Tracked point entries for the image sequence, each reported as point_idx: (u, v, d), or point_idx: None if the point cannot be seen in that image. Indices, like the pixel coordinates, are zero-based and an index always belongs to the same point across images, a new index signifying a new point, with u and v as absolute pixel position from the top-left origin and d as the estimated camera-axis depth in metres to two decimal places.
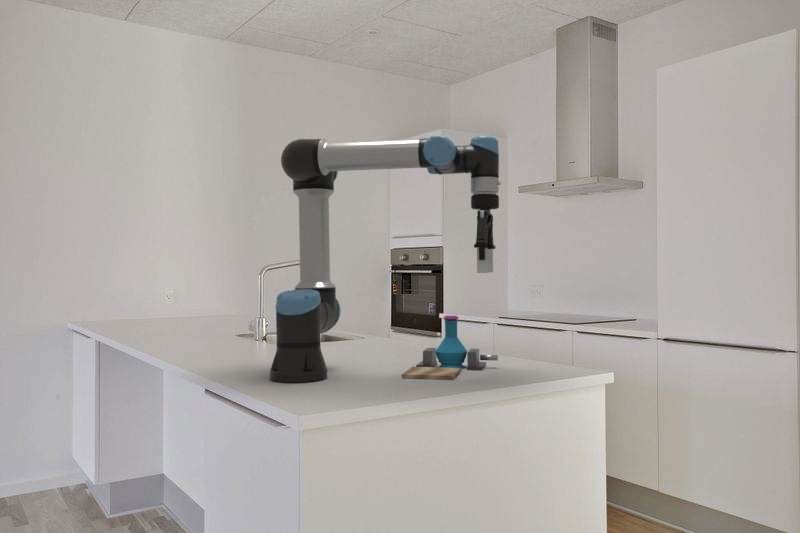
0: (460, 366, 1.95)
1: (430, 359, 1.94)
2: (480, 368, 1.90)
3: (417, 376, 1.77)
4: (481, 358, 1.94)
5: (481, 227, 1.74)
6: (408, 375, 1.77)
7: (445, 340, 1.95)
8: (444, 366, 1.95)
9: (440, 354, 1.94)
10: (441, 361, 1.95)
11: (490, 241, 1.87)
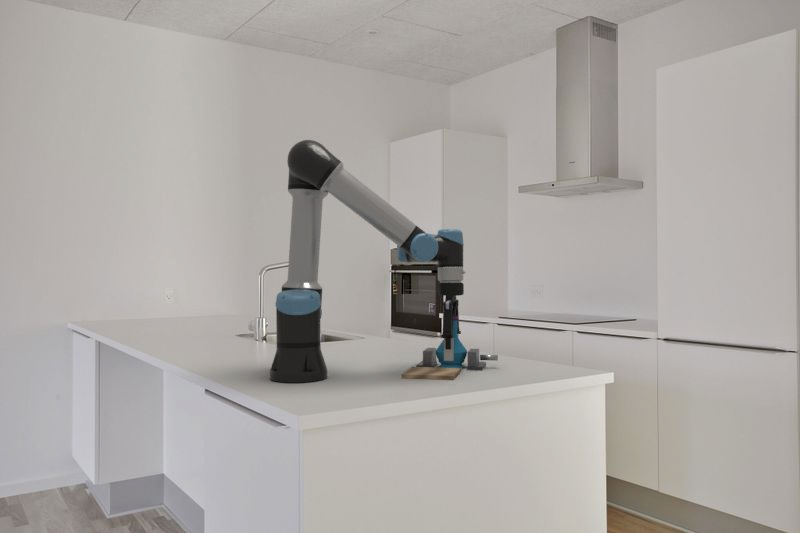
0: (460, 366, 1.95)
1: (430, 359, 1.94)
2: (480, 368, 1.90)
3: (417, 376, 1.77)
4: (481, 358, 1.94)
5: (447, 319, 1.90)
6: (408, 375, 1.77)
7: None
8: (444, 366, 1.95)
9: (440, 354, 1.94)
10: (441, 361, 1.95)
11: None
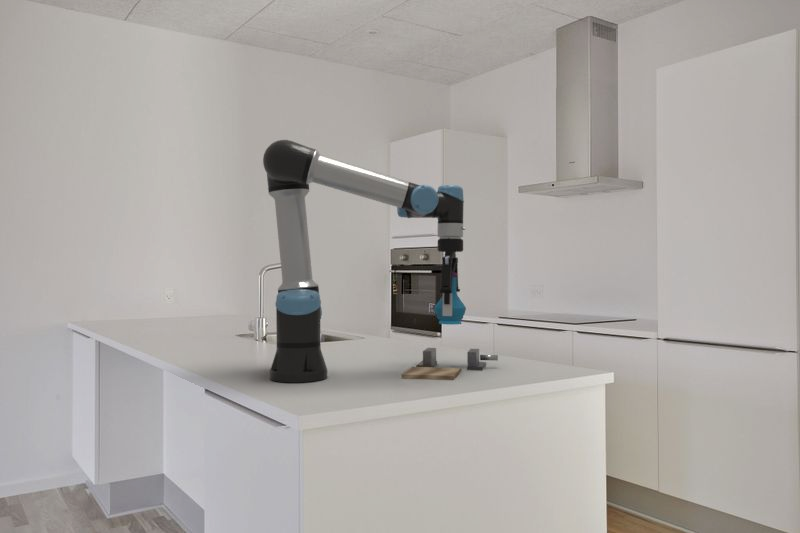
0: (459, 322, 1.95)
1: (430, 359, 1.94)
2: (480, 368, 1.90)
3: (417, 376, 1.77)
4: (481, 358, 1.94)
5: (446, 274, 1.90)
6: (408, 375, 1.77)
7: None
8: (443, 322, 1.94)
9: (439, 310, 1.94)
10: (440, 317, 1.94)
11: None
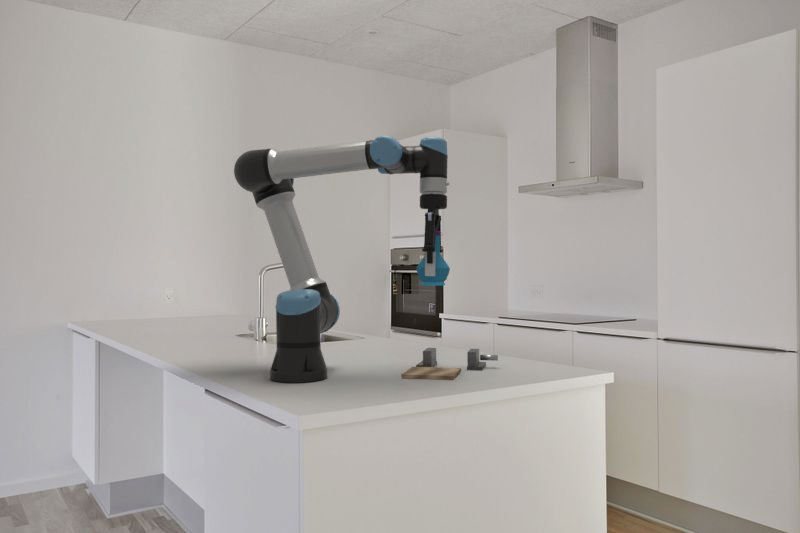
0: (442, 283, 1.83)
1: (430, 359, 1.94)
2: (480, 368, 1.90)
3: (417, 376, 1.77)
4: (481, 358, 1.94)
5: (429, 231, 1.78)
6: (408, 375, 1.77)
7: None
8: (425, 283, 1.83)
9: (421, 270, 1.82)
10: (422, 277, 1.83)
11: None
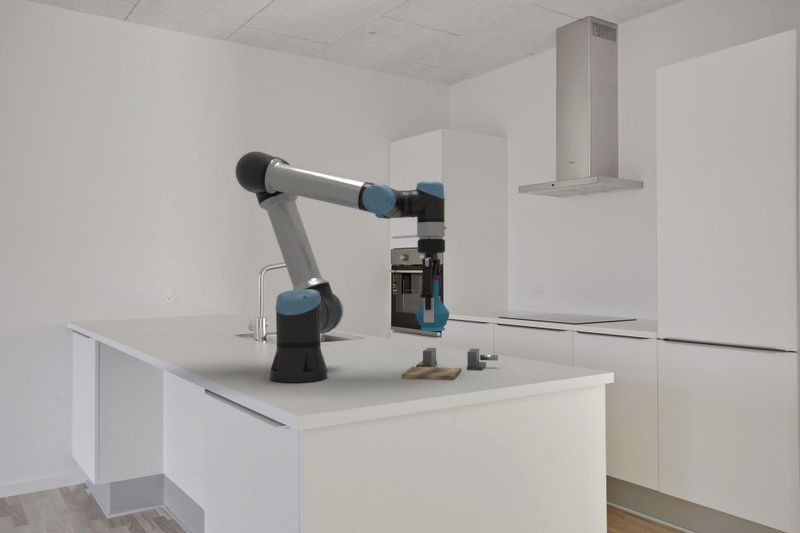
0: (442, 328, 1.81)
1: (430, 359, 1.94)
2: (480, 368, 1.90)
3: (417, 376, 1.77)
4: (481, 358, 1.94)
5: (426, 277, 1.76)
6: (408, 375, 1.77)
7: None
8: (424, 328, 1.81)
9: (420, 315, 1.80)
10: (421, 323, 1.81)
11: None
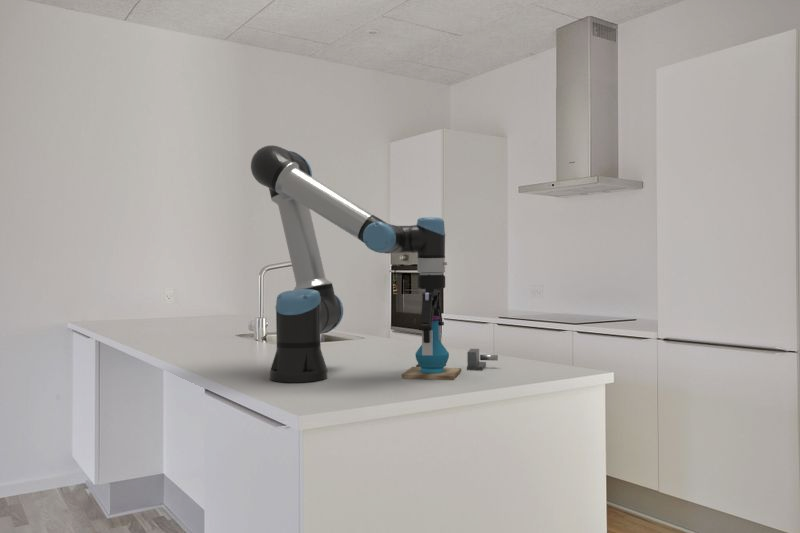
0: (441, 370, 1.81)
1: None
2: (480, 368, 1.90)
3: (417, 376, 1.77)
4: (481, 358, 1.94)
5: (425, 310, 1.75)
6: (408, 375, 1.77)
7: None
8: (424, 370, 1.81)
9: (419, 357, 1.80)
10: (421, 365, 1.81)
11: None
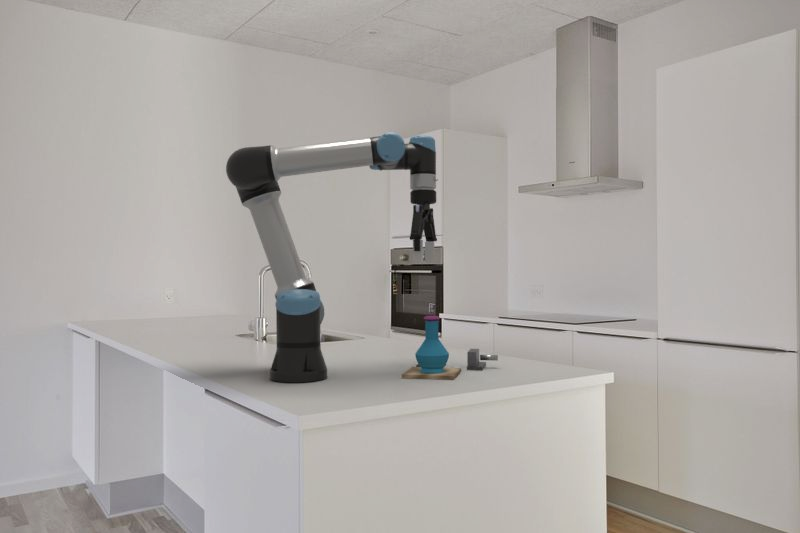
0: (441, 370, 1.81)
1: None
2: (480, 368, 1.90)
3: (417, 376, 1.77)
4: (481, 358, 1.94)
5: (416, 220, 1.86)
6: (408, 375, 1.77)
7: (425, 342, 1.82)
8: (424, 370, 1.81)
9: (419, 357, 1.80)
10: (421, 365, 1.81)
11: (431, 234, 2.00)
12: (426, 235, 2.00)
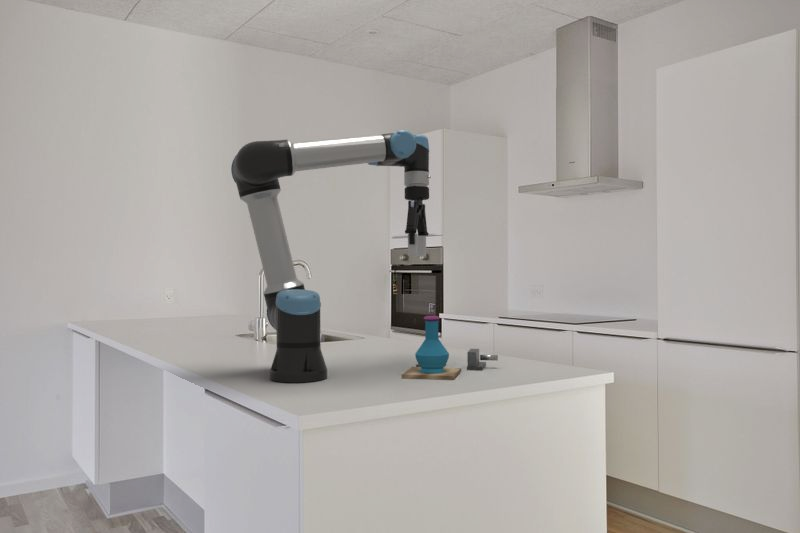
0: (441, 370, 1.81)
1: None
2: (480, 368, 1.90)
3: (417, 376, 1.77)
4: (481, 358, 1.94)
5: (411, 215, 1.96)
6: (408, 375, 1.77)
7: (425, 342, 1.82)
8: (424, 370, 1.81)
9: (419, 357, 1.80)
10: (421, 365, 1.81)
11: (423, 228, 2.10)
12: (418, 230, 2.10)
